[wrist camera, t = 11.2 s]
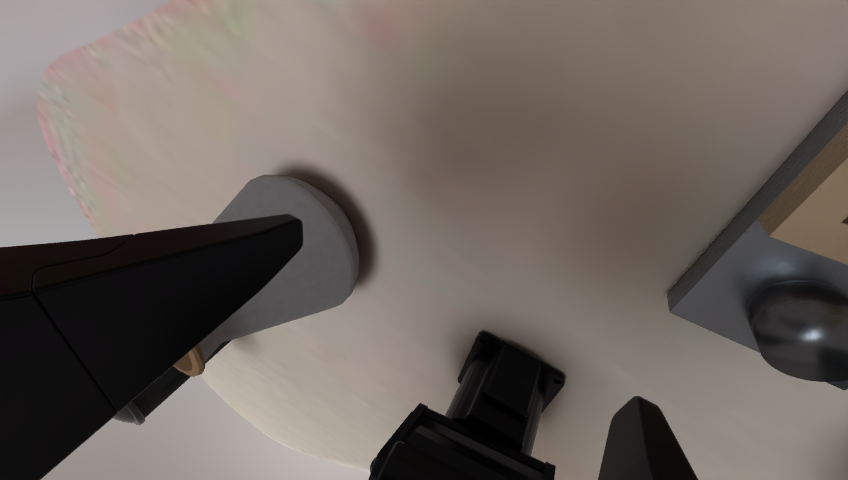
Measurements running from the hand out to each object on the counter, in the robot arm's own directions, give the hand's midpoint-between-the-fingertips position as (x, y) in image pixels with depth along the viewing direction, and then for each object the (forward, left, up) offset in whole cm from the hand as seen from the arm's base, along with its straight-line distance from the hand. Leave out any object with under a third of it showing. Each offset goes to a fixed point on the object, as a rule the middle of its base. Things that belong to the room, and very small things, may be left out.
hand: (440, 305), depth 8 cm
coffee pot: (-15, +18, -12) cm, 26 cm away
